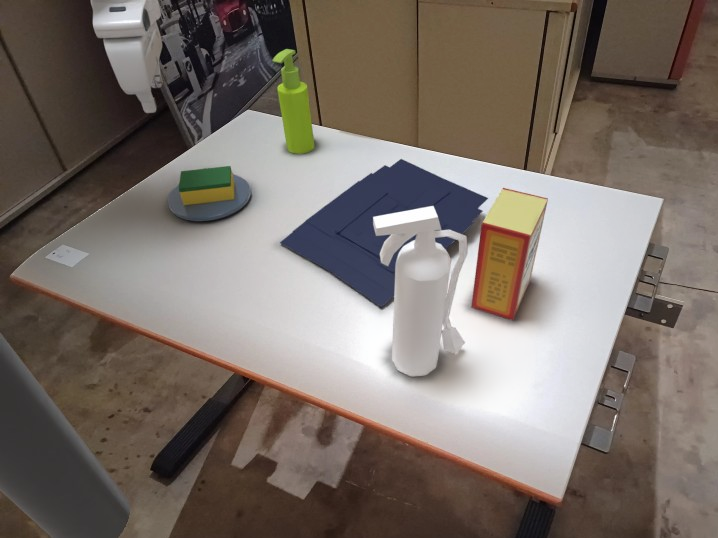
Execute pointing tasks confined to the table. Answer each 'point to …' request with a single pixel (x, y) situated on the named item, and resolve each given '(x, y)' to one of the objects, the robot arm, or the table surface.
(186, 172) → the sponge
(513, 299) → the baking soda box
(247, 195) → the plate
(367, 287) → the folded navy cloth
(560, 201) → the table surface
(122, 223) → the table surface
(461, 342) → the fire extinguisher
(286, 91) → the soap dispenser
